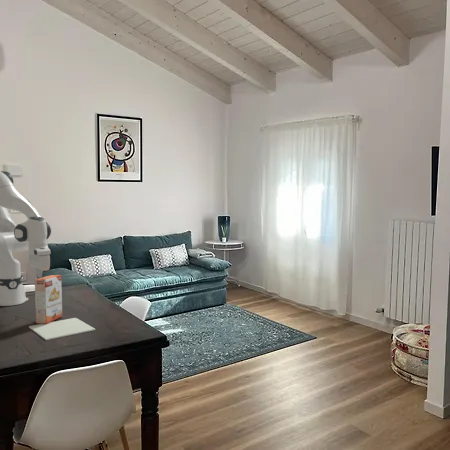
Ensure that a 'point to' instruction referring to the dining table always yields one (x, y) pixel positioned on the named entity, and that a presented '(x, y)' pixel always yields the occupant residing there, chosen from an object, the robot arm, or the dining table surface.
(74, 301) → the dining table surface
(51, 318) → the cracker box
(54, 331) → the mat
